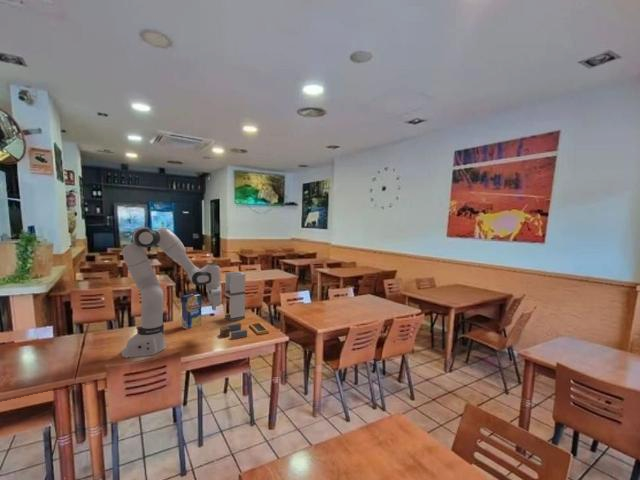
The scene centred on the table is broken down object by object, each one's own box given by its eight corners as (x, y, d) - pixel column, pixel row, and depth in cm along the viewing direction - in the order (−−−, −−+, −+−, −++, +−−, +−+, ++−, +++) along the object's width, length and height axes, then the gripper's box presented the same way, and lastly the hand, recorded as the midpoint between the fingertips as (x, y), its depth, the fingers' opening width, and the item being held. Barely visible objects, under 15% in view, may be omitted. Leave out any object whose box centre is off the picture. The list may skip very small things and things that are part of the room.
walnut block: (222, 337, 203) (222, 330, 203) (220, 334, 208) (220, 327, 207) (229, 336, 206) (229, 328, 205) (227, 333, 210) (227, 326, 210)
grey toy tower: (238, 314, 250) (239, 271, 247) (244, 318, 241) (245, 273, 239) (225, 317, 242) (225, 273, 240) (230, 321, 234) (231, 275, 232)
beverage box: (201, 324, 225) (201, 294, 223) (187, 329, 216) (187, 297, 214) (195, 322, 229) (195, 293, 227) (181, 327, 219) (181, 296, 218)
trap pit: (257, 335, 209) (257, 332, 209) (249, 326, 224) (249, 323, 224) (269, 333, 213) (269, 330, 213) (259, 324, 228) (259, 322, 228)
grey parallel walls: (231, 338, 201) (232, 332, 201) (225, 330, 215) (225, 325, 214) (247, 336, 206) (247, 330, 206) (240, 328, 220) (240, 322, 220)
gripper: (205, 285, 208) (205, 306, 209) (211, 292, 190) (212, 314, 191) (214, 284, 211) (215, 304, 212) (222, 291, 193) (222, 313, 195)
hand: (213, 309), depth 202 cm, fingers closed
